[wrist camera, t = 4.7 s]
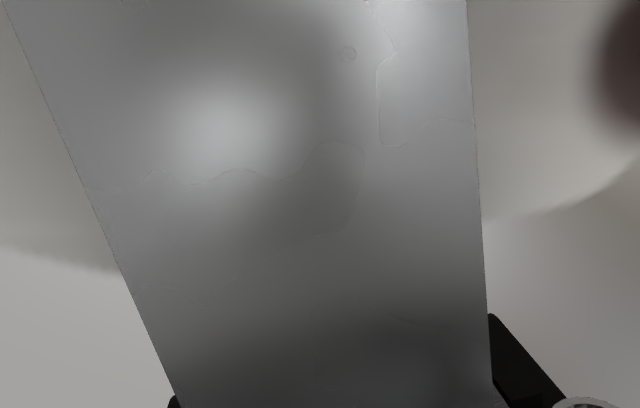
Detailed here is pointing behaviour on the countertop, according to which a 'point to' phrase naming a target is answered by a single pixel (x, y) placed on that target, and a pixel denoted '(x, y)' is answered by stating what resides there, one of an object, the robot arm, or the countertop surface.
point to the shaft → (282, 190)
